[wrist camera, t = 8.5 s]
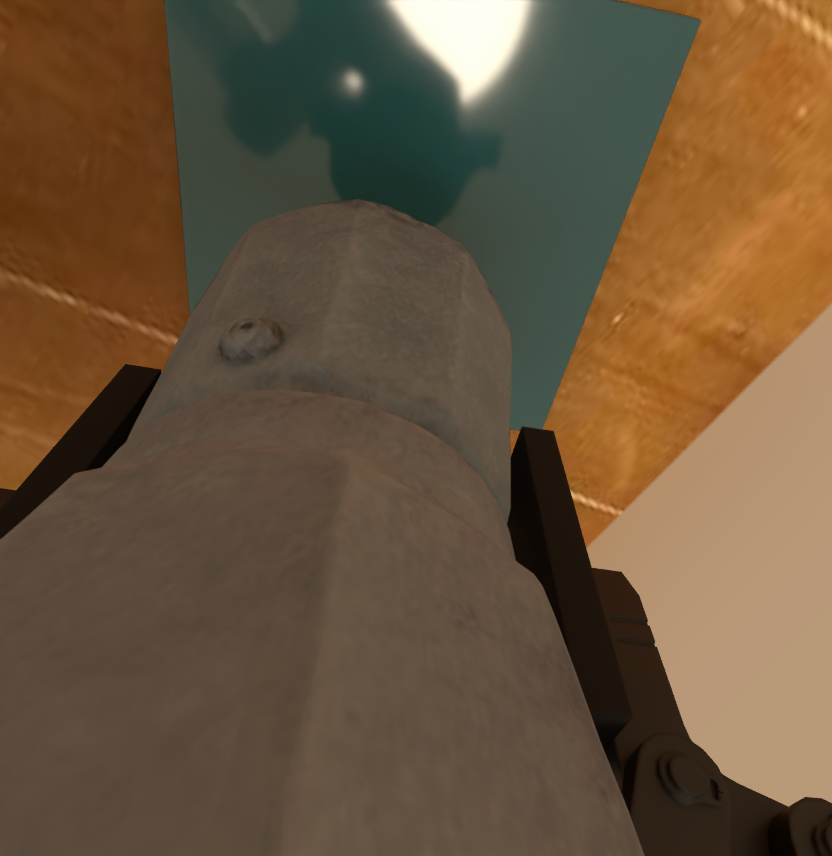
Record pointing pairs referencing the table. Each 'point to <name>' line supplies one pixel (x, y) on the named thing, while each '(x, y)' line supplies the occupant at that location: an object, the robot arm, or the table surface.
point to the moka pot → (302, 586)
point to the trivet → (431, 136)
